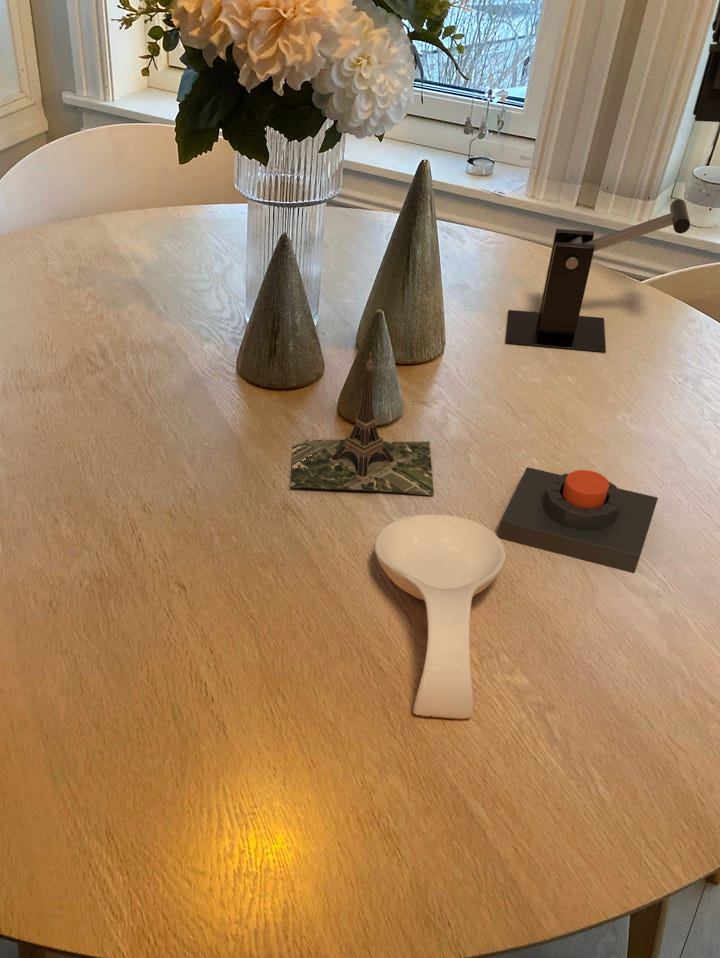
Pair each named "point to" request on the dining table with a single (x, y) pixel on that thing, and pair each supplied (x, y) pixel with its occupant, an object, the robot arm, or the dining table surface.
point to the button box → (578, 522)
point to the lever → (644, 227)
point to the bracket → (561, 302)
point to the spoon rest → (442, 597)
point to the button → (585, 489)
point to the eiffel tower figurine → (363, 458)
